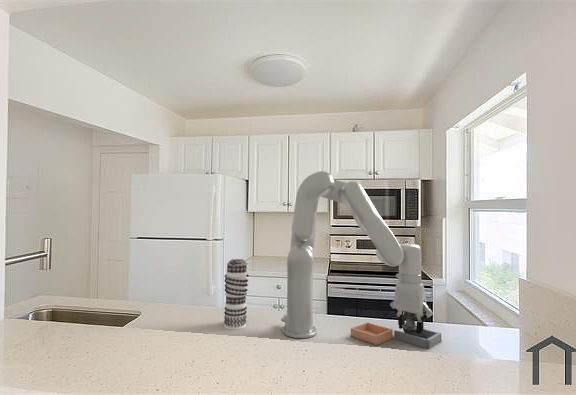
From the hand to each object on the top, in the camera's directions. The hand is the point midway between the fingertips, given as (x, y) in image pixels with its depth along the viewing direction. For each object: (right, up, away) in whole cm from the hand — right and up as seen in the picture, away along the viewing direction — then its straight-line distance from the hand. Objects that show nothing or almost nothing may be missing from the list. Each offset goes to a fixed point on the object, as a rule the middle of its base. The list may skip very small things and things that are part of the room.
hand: (410, 329), depth 110 cm
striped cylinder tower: (-64, -2, +9) cm, 65 cm away
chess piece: (0, -3, 0) cm, 3 cm away
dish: (-14, -2, -1) cm, 14 cm away
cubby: (+1, -3, -1) cm, 3 cm away
